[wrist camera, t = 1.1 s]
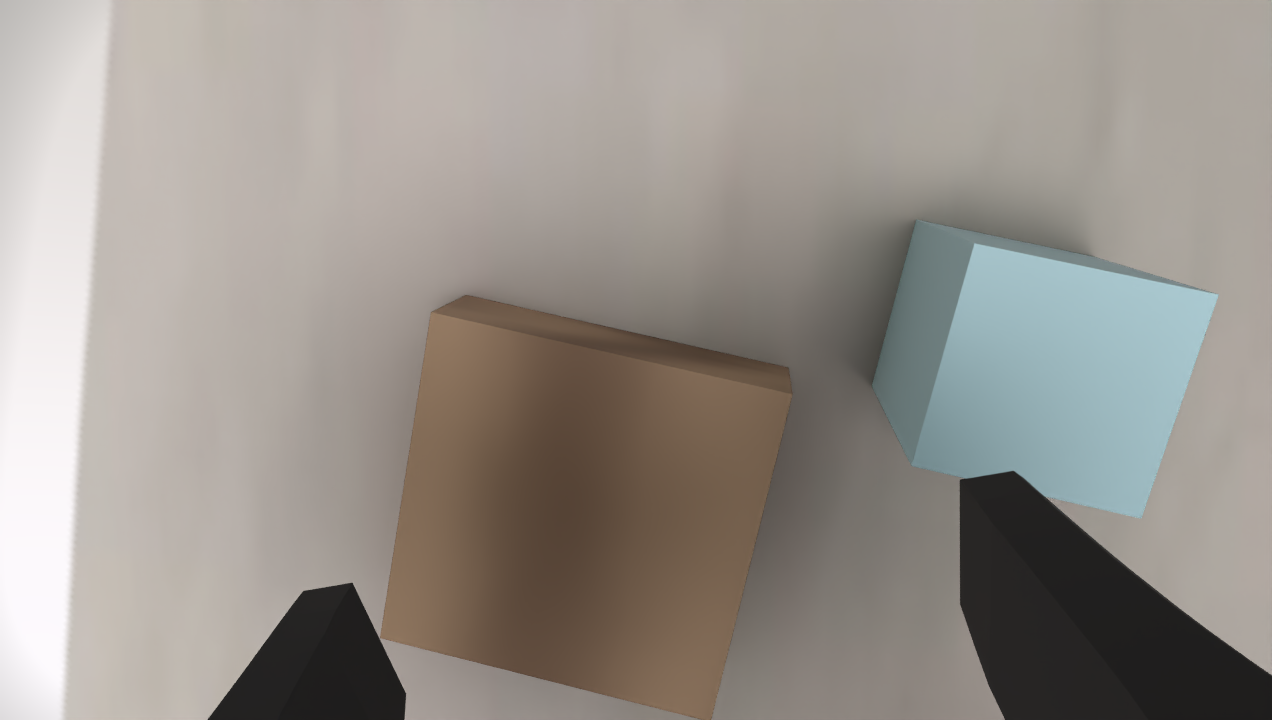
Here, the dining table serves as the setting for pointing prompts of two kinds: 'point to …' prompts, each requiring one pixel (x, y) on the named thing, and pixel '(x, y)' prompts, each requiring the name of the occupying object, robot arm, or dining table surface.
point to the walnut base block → (582, 502)
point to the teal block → (1037, 365)
